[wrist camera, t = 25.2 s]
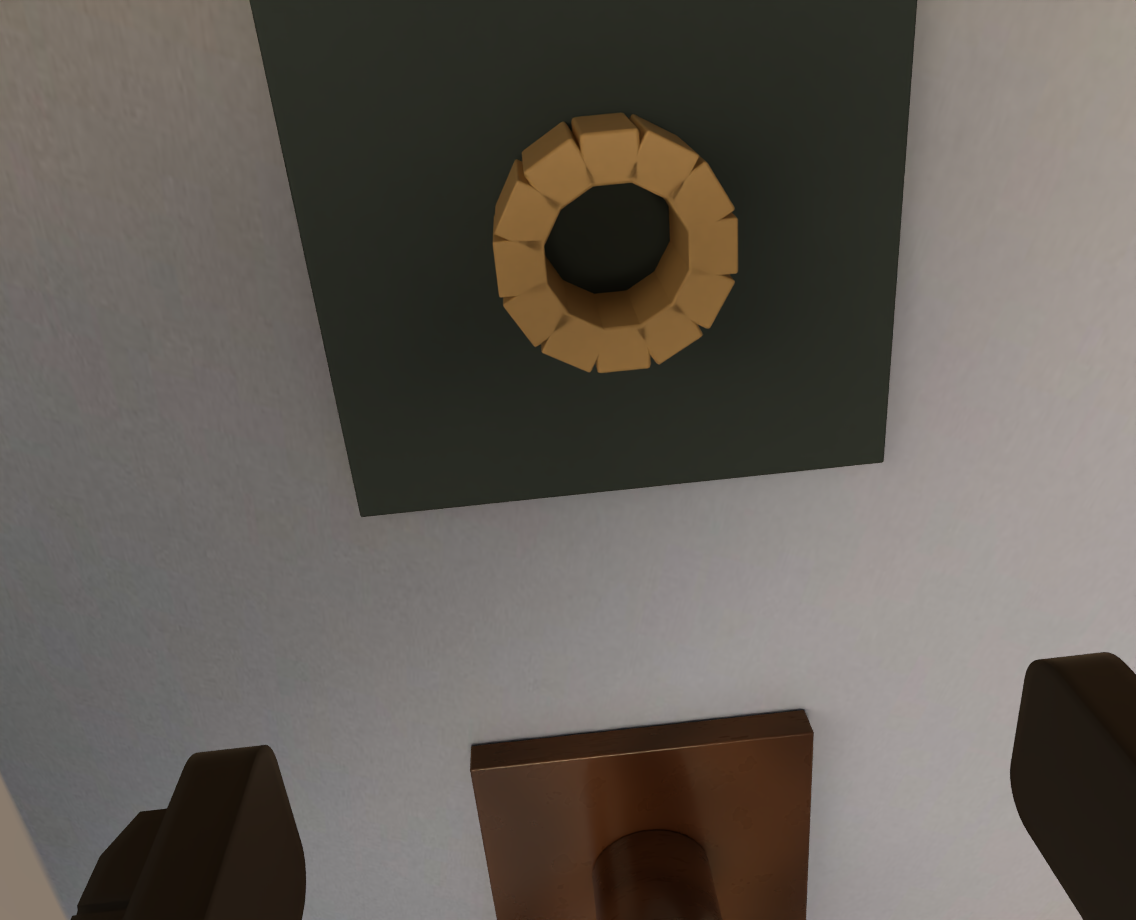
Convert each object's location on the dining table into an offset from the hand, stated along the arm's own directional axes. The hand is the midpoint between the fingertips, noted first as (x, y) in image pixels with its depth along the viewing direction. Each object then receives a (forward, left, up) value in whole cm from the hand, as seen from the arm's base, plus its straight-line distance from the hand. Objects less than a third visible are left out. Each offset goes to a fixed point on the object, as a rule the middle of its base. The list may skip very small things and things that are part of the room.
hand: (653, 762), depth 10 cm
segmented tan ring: (+1, +2, -18) cm, 18 cm away
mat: (+1, +2, -18) cm, 18 cm away
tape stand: (+1, -22, -18) cm, 29 cm away
